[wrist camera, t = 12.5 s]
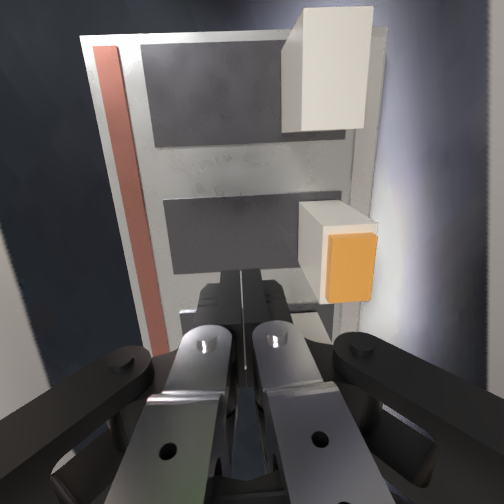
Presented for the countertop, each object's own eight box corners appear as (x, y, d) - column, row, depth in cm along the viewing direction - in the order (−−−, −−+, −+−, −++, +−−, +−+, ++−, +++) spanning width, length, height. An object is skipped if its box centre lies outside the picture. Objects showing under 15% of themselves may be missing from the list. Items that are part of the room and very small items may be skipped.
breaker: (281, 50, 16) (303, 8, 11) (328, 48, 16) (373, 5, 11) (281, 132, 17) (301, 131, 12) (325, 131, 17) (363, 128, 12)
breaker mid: (298, 201, 19) (327, 230, 13) (338, 199, 19) (384, 227, 13) (298, 261, 20) (323, 310, 14) (335, 259, 20) (374, 307, 14)
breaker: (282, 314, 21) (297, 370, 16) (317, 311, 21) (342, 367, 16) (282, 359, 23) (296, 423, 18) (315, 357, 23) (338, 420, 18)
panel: (96, 46, 17) (77, 34, 15) (372, 38, 18) (390, 24, 16) (156, 358, 25) (148, 377, 23) (346, 345, 26) (355, 363, 24)
